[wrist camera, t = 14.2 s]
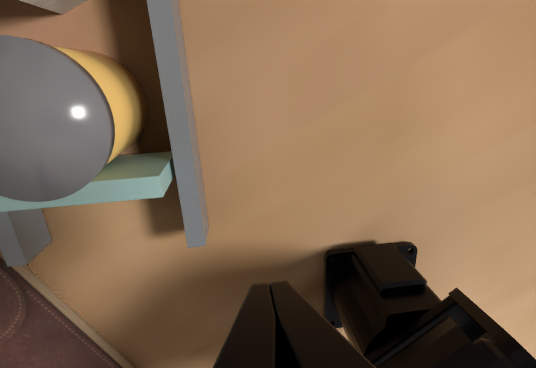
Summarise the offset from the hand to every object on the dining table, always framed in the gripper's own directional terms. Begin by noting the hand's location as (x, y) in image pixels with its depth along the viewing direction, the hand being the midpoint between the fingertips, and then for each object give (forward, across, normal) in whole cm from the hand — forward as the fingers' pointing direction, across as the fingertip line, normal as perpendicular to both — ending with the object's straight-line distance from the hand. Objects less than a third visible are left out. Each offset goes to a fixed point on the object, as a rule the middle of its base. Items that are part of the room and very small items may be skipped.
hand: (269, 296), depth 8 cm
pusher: (+12, +8, -1) cm, 14 cm away
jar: (+12, +8, -4) cm, 15 cm away
